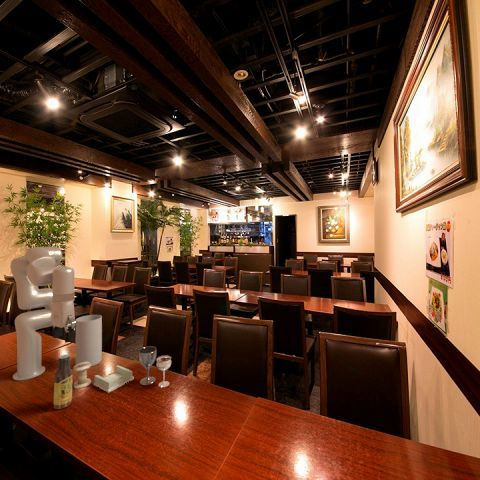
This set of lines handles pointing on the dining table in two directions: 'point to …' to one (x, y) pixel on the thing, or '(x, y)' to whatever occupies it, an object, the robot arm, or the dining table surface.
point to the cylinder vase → (89, 339)
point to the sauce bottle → (63, 383)
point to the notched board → (114, 379)
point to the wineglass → (163, 368)
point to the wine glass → (147, 362)
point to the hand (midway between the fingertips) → (63, 339)
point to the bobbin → (82, 375)
